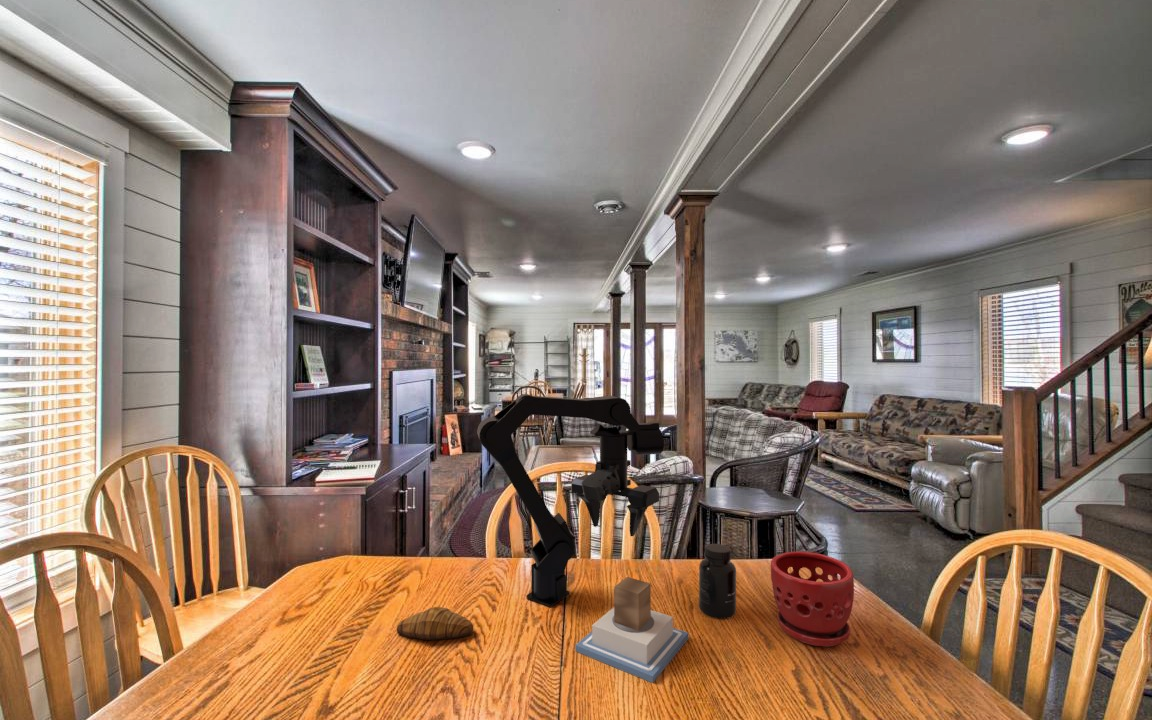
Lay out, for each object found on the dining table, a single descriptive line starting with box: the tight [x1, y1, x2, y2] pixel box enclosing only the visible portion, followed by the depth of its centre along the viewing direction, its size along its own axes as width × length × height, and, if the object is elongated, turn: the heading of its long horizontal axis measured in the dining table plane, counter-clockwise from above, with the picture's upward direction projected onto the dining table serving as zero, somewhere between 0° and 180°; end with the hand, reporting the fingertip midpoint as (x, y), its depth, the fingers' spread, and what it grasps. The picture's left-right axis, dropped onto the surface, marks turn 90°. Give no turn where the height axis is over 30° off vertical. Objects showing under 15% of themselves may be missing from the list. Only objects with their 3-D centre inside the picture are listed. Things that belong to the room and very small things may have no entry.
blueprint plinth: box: [574, 606, 690, 684], centre depth 83 cm, size 14×14×4 cm
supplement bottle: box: [698, 543, 737, 620], centre depth 94 cm, size 7×7×12 cm
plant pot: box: [770, 551, 855, 648], centre depth 87 cm, size 13×13×12 cm
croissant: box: [396, 606, 474, 641], centre depth 86 cm, size 14×7×5 cm, turn 87°
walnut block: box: [613, 576, 652, 631], centre depth 83 cm, size 4×4×6 cm
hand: (613, 530), depth 103 cm, fingers open, 9 cm apart
